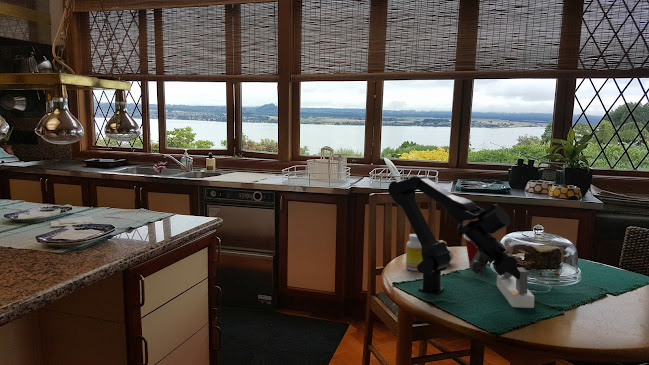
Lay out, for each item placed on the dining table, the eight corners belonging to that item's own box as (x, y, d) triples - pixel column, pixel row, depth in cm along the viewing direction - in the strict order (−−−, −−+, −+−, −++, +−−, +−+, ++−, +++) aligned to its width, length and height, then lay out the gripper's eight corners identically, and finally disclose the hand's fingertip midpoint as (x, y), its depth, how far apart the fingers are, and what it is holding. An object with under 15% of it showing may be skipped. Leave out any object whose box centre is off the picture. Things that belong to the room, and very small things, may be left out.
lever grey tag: (506, 279, 144) (497, 260, 143) (502, 275, 148) (494, 257, 147) (512, 276, 143) (503, 258, 143) (508, 272, 147) (500, 254, 147)
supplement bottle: (424, 272, 163) (424, 237, 161) (405, 271, 164) (406, 237, 163) (423, 266, 169) (424, 233, 168) (406, 265, 171) (406, 232, 169)
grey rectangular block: (520, 293, 130) (520, 271, 129) (515, 288, 134) (516, 267, 133) (527, 293, 129) (527, 271, 129) (522, 288, 133) (523, 267, 133)
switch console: (512, 307, 130) (512, 294, 130) (496, 285, 148) (497, 274, 148) (533, 307, 130) (534, 295, 129) (515, 286, 147) (515, 275, 147)
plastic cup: (461, 269, 166) (461, 237, 164) (463, 261, 176) (464, 231, 174) (492, 272, 162) (493, 240, 160) (493, 264, 171) (494, 233, 170)
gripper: (456, 248, 141) (490, 284, 141) (465, 265, 123) (504, 307, 123) (484, 225, 139) (518, 262, 139) (497, 239, 121) (537, 282, 120)
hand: (519, 278), depth 130 cm, fingers closed, pressing on grey rectangular block
